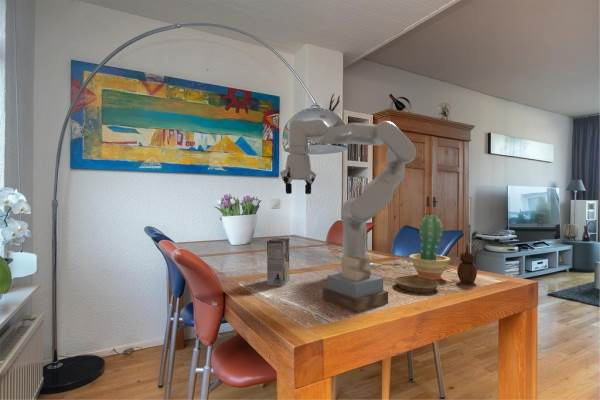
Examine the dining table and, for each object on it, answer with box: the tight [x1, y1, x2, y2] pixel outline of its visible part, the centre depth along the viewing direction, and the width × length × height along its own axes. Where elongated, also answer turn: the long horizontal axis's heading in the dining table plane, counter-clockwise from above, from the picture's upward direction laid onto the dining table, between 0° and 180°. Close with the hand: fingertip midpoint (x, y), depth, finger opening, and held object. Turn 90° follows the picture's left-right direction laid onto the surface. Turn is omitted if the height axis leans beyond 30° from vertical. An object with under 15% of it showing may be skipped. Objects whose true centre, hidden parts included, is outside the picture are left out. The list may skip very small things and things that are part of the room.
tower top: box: [326, 272, 384, 299], centre depth 95 cm, size 12×12×4 cm
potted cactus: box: [409, 214, 451, 281], centre depth 124 cm, size 15×15×25 cm
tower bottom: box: [322, 287, 389, 314], centre depth 94 cm, size 14×14×4 cm
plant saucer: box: [394, 275, 440, 294], centre depth 109 cm, size 15×15×3 cm
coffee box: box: [266, 237, 290, 287], centre depth 115 cm, size 9×6×16 cm
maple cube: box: [341, 255, 371, 281], centre depth 94 cm, size 6×6×6 cm
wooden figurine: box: [456, 243, 478, 284], centre depth 116 cm, size 7×6×15 cm
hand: (298, 193), depth 125 cm, fingers open, 9 cm apart
